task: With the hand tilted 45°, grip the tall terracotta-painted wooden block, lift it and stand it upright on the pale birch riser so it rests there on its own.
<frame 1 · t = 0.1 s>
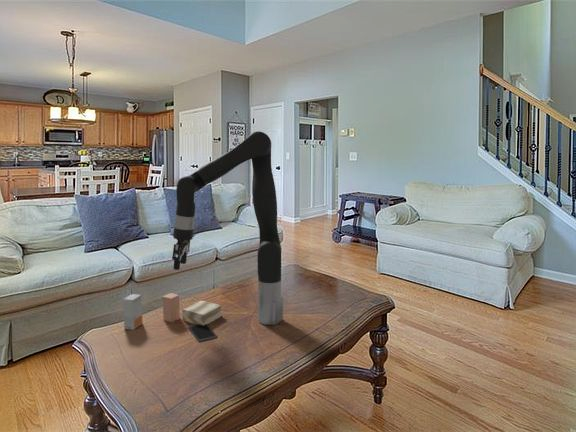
hand: (179, 266, 150), 22 cm above the table, tool pointing down, fingers open, 8 cm apart
terracotta block: (171, 319, 154), on the table
birch riser: (202, 318, 155), on the table
cell phone: (202, 333, 143), on the table
skincare box: (133, 326, 147), on the table
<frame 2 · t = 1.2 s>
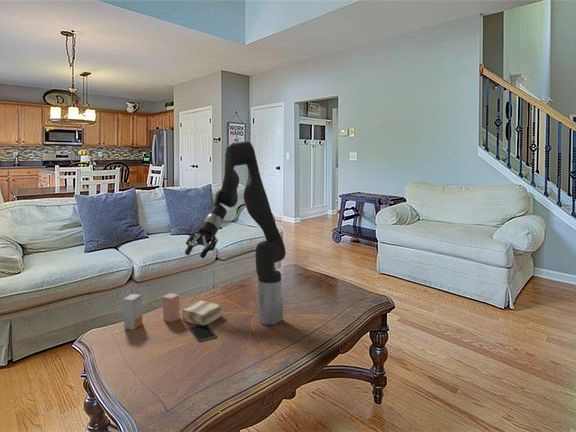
hand: (194, 255, 163), 23 cm above the table, tool tilted 45°, fingers open, 8 cm apart
nothing on the table moved.
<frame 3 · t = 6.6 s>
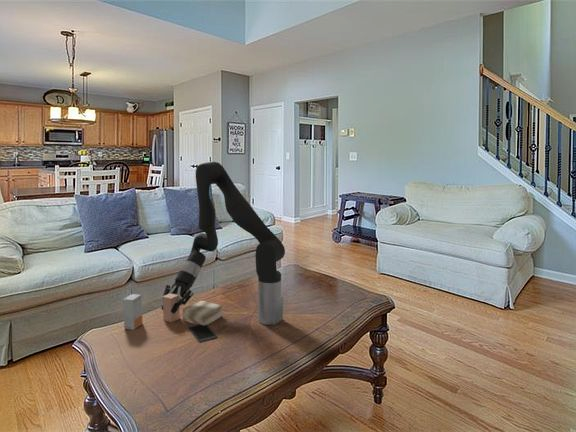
hand: (167, 311, 151), 4 cm above the table, tool tilted 45°, fingers closed on terracotta block, 4 cm apart
terracotta block: (171, 319, 154), on the table, touching gripper
everything else where it was.
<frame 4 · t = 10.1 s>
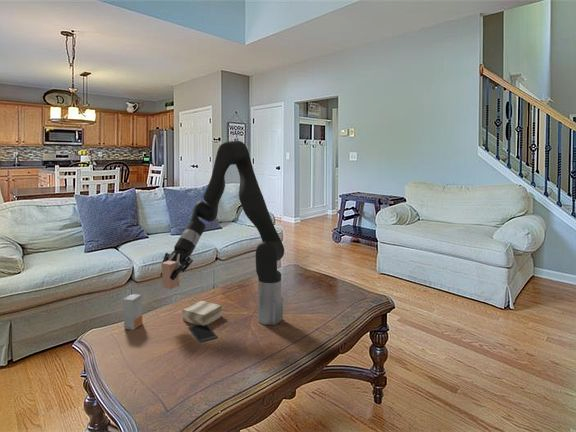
hand: (167, 277, 149), 18 cm above the table, tool tilted 45°, fingers closed on terracotta block, 4 cm apart
terracotta block: (170, 286, 151), point 14 cm above the table, touching gripper
birch riser: (202, 319, 155), on the table, touching cell phone
cell phone: (202, 334, 142), on the table, touching birch riser
everything else where it was.
when the fingers open (11 cm above the table, at t = 14.0 s): terracotta block drops 2 cm, resting on birch riser.
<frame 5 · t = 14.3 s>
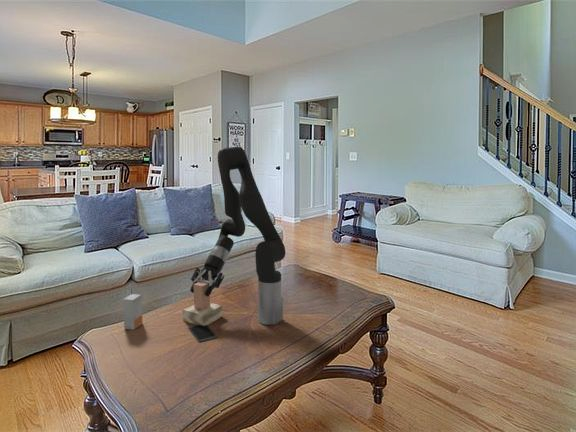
hand: (199, 293, 152), 11 cm above the table, tool tilted 45°, fingers open, 7 cm apart
terracotta block: (202, 307, 154), point 5 cm above the table, touching birch riser
birch riser: (202, 319, 155), on the table, touching terracotta block
cell phone: (202, 334, 142), on the table
everything else where it was.
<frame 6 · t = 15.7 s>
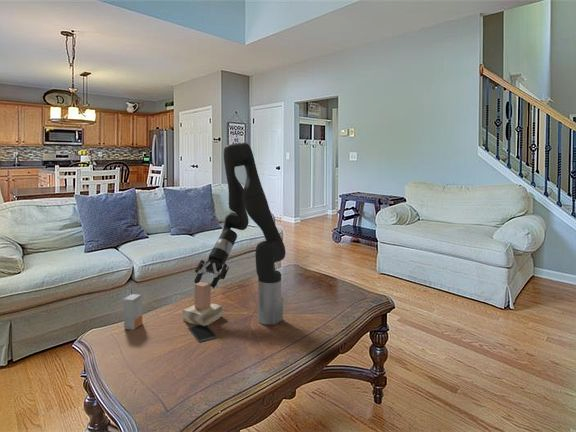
hand: (204, 284, 154), 14 cm above the table, tool tilted 45°, fingers open, 8 cm apart
nothing on the table moved.
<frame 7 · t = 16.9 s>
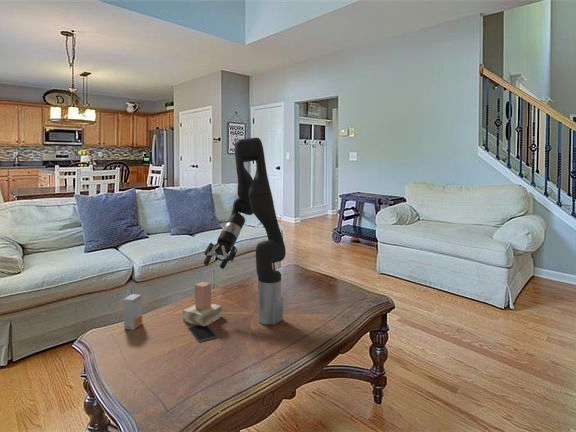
hand: (213, 266, 158), 20 cm above the table, tool tilted 45°, fingers open, 8 cm apart
terracotta block: (203, 307, 154), point 5 cm above the table
birch riser: (202, 319, 154), on the table
everything else where it was.
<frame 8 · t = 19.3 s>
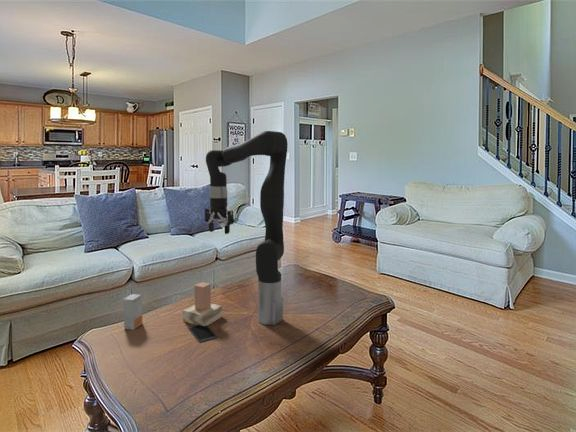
hand: (219, 232, 168), 32 cm above the table, tool pointing down, fingers open, 8 cm apart
terracotta block: (203, 308, 153), point 5 cm above the table, touching birch riser
birch riser: (202, 319, 154), on the table, touching cell phone, terracotta block
cell phone: (202, 334, 142), on the table, touching birch riser
everything else where it was.
at the end: terracotta block inside the target area on the birch riser (0.3 cm from its centre), point 5.0 cm above the birch riser's base; terracotta block tilted 0°; terracotta block touching nothing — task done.
